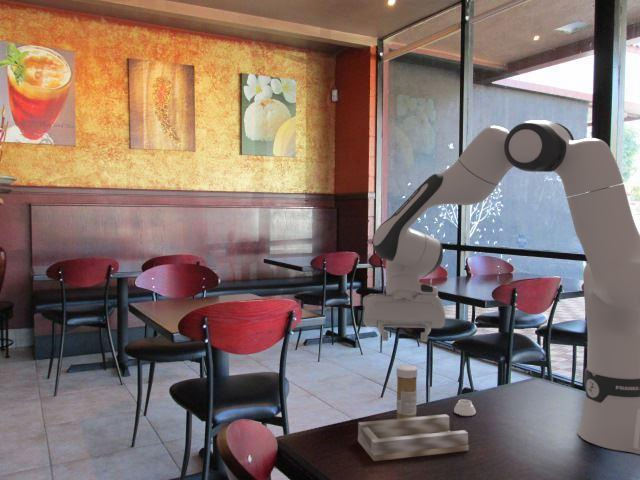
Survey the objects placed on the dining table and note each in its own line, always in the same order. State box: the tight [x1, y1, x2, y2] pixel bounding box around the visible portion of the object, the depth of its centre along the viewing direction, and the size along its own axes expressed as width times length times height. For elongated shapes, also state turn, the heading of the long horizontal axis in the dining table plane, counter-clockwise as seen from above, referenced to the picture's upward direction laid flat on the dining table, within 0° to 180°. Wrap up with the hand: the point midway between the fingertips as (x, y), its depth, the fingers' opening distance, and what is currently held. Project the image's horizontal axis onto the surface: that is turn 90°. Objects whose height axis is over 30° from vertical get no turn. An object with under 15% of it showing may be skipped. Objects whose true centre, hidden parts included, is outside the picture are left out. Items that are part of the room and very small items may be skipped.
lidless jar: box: [453, 398, 477, 417], centre depth 134 cm, size 5×3×5 cm
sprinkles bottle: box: [396, 364, 418, 419], centre depth 125 cm, size 5×5×14 cm
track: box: [357, 413, 470, 462], centre depth 114 cm, size 20×10×4 cm, turn 104°
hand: (404, 340), depth 136 cm, fingers open, 8 cm apart
